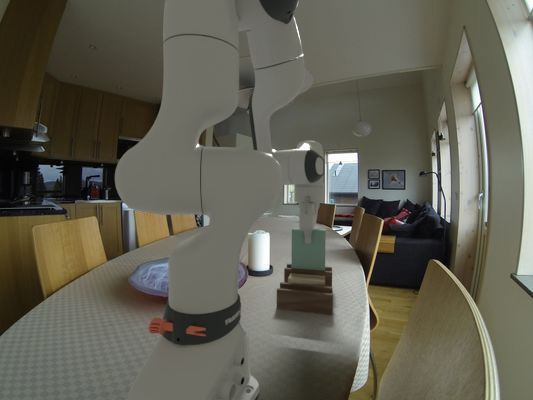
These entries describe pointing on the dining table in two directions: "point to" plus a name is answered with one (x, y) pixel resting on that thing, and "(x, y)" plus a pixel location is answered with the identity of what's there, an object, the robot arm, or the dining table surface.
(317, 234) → the panel
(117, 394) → the dining table surface
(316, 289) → the rack
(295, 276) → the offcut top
